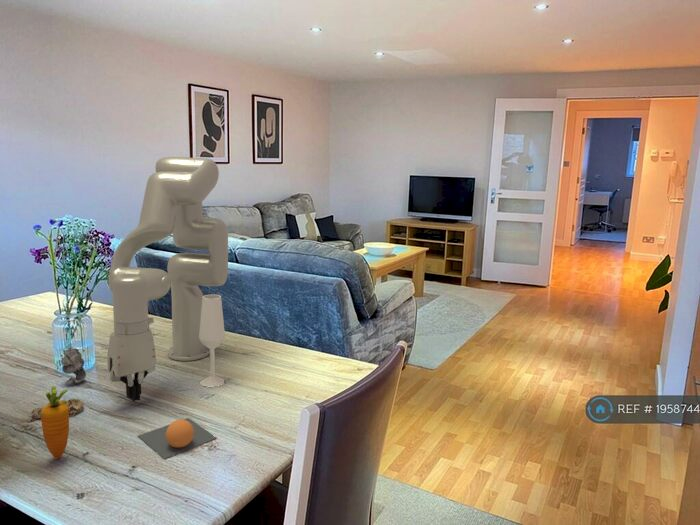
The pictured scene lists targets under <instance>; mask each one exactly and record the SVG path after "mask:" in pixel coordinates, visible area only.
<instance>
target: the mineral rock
mask: <svg viewBox="0 0 700 525" xmlns="http://www.w3.org/2000/svg"><path fill="white" fill-rule="evenodd" d="M59 402H60V403H65V404H67V405H68V407H69V418H72V417H75V416H76V415H77V414H79V413H81V412H83V409H84V405H85V402H84V401H83V400H80V399H79V398H71V399H68V400H66V399H65V398H64V399H62V400H61V399H60V401H59ZM49 404H51V403H50V401H49V402H48V403H47V405H49ZM45 406H46V405H44V406H42V407H36V408H33V410H32V411H31V414H32V415H31V418H32V419H36V420H40V421H41V412H42V408H43V407H45Z"/></svg>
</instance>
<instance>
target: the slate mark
mask: <svg viewBox="0 0 700 525" xmlns="http://www.w3.org/2000/svg"><path fill="white" fill-rule="evenodd" d="M183 420H186V421H188V422H189V423H191V425H192V426H193V429H194V436H193V439H192V440H191V442H190V443H189V444H188V445H186V446H184V447H182V448H176V447H173V446H171V445H170V444H169V443H168V442H167V439H166V431H167V428H168V427H169V425H170V424H167V425H164V426H161V427H159V428H155V429H153V430H150V431H147V432H143V433H142V434H139V435H137V437H138V439H139V440H141V441H142V442H144V443H145V444H146V445H147V446H148V447H149V448H151V449H152V450H153V451H154V452H155V453H156V452H157V453H158V454H157V453H156V454H157V455H159V456H160V457H161V458H162V459H163V460H164V459H165V460H167V459H170V458H172V457H174V456H173V455H175V456H176V454H177V455H179V454H178V453H180V454H182V453H185V452H186V450H187V451H189V449H190V450H192V449H195V448H197V447H199V446H198V445H200V446H202V445H204V444H203V443H205V444H207V443H209V441H210V442H212V441H214V440H213V439H215V440H216V438H217V439H218V437H217V436H215V435H214V434H212V433H211V432H209V431H208V430H206V429H205V428H204V427H202V426H201V425H199V424H198V423H197V422H195V421H194V420H192V419H191V418H189V417H187V418H184V419H183ZM213 435H214V436H215V437H214V436H213ZM211 440H212V441H211ZM206 442H207V443H206ZM201 444H202V445H201ZM196 446H197V447H196ZM194 447H195V448H194ZM191 448H192V449H191ZM184 451H185V452H184ZM181 452H182V453H181ZM171 456H172V457H171ZM169 457H170V458H169ZM166 458H167V459H166Z"/></svg>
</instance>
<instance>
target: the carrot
mask: <svg viewBox="0 0 700 525" xmlns="http://www.w3.org/2000/svg"><path fill="white" fill-rule="evenodd" d="M50 389H51V391H47V392H45V397H46V398H47V399H48V401H49V402H50V403H51V404H49V405H48V404H47V405H44V406H45V407H44V406H42V407H43V408H42V412H41V420H40V422H41V428H42V429H41V430H42V436H43V440H44V443H45V445H46V447H47V449H48V452H49V453H50V454H51V456H52V457H53V458H54V459H56V460H60V459H61V458H62V457H63V455H64V452H65V450H66V447H67V445H68V439H69V438H68V437H69V430H70V417H69V407H68V405H67V404H65V403H60V402H59V401H61V398H62V397H63V396H64V394H66V393H67V392H68V391H69V390H68V389H64V390H62V391H61V392H60V393H59V395H57V394H58V390H57V387H56V386H55V385H54V386H51V388H50Z"/></svg>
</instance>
